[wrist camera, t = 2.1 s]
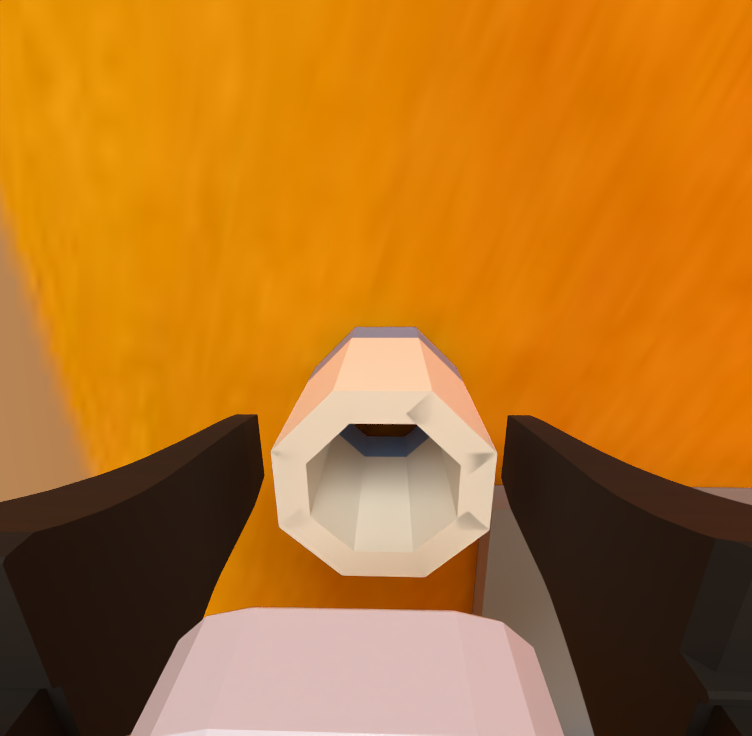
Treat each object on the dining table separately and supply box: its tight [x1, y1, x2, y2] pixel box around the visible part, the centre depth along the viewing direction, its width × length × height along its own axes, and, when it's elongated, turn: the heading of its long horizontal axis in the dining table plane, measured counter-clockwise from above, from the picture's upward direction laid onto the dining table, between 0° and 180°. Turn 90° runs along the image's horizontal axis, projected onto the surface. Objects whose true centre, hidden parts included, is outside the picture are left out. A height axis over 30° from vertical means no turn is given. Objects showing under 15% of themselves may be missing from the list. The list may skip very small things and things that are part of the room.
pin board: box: [472, 485, 752, 736], centre depth 17 cm, size 12×20×6 cm, turn 1°
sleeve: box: [271, 327, 497, 577], centre depth 12 cm, size 5×5×6 cm
